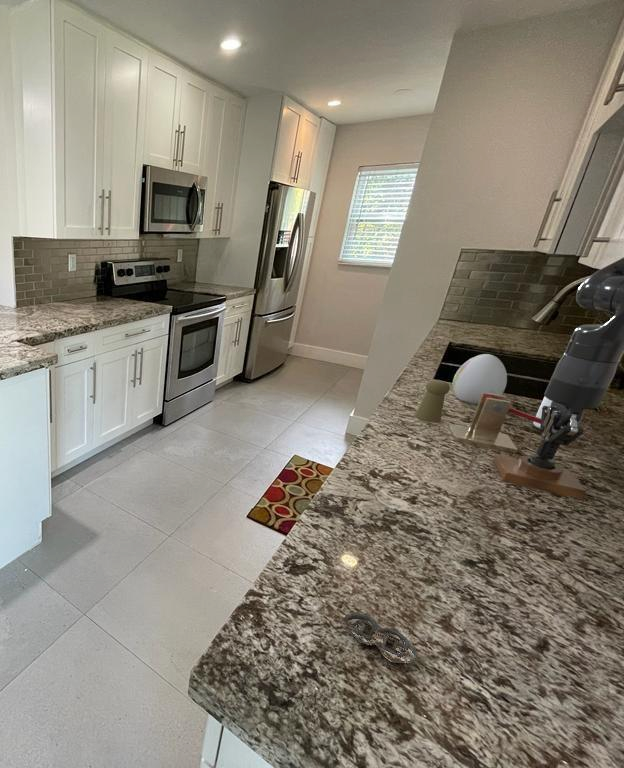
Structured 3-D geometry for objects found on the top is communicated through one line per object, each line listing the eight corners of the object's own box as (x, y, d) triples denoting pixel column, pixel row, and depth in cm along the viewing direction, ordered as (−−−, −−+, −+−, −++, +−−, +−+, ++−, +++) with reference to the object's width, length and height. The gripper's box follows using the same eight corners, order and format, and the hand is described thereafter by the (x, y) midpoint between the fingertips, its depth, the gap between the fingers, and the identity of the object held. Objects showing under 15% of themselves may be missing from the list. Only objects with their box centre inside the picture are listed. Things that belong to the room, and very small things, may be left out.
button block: (564, 478, 88) (571, 462, 87) (581, 500, 81) (590, 483, 80) (492, 462, 94) (498, 446, 92) (502, 481, 87) (509, 465, 85)
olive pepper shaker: (439, 416, 117) (451, 380, 113) (442, 424, 112) (455, 386, 108) (413, 411, 120) (425, 376, 116) (415, 418, 115) (427, 382, 111)
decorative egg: (473, 392, 135) (489, 348, 130) (509, 408, 124) (528, 360, 118) (438, 392, 134) (453, 348, 129) (471, 408, 123) (489, 360, 117)
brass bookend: (505, 438, 105) (523, 396, 101) (516, 454, 98) (535, 409, 93) (447, 427, 110) (462, 386, 106) (453, 440, 103) (469, 397, 99)
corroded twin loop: (348, 610, 56) (350, 604, 56) (418, 648, 51) (421, 643, 51) (337, 635, 53) (339, 629, 52) (412, 679, 48) (414, 673, 47)
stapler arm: (543, 424, 99) (550, 416, 98) (552, 434, 94) (560, 426, 93) (481, 401, 104) (487, 393, 103) (487, 409, 99) (493, 401, 98)
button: (548, 463, 87) (552, 456, 86) (555, 471, 84) (558, 464, 83) (526, 458, 88) (529, 451, 88) (531, 466, 85) (535, 459, 85)
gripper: (625, 394, 72) (582, 477, 78) (592, 373, 83) (556, 448, 89) (567, 386, 76) (530, 466, 82) (542, 367, 86) (511, 439, 93)
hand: (543, 456), depth 85 cm, fingers closed
